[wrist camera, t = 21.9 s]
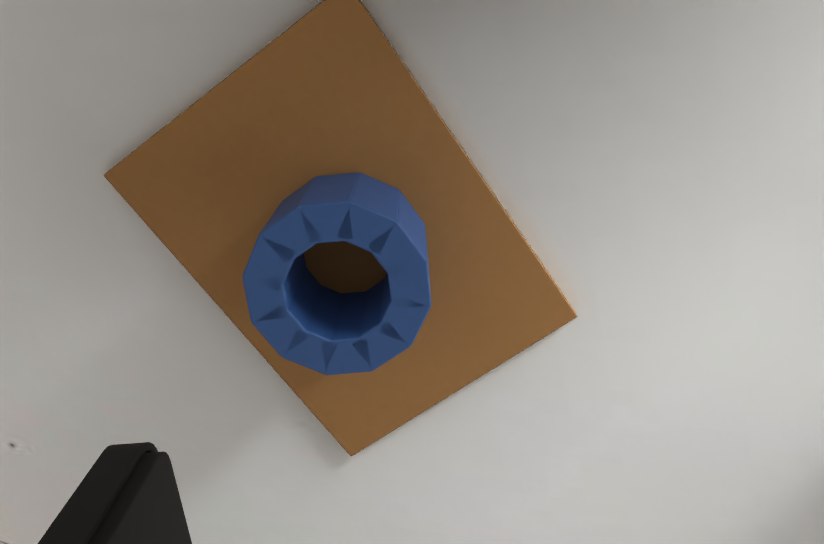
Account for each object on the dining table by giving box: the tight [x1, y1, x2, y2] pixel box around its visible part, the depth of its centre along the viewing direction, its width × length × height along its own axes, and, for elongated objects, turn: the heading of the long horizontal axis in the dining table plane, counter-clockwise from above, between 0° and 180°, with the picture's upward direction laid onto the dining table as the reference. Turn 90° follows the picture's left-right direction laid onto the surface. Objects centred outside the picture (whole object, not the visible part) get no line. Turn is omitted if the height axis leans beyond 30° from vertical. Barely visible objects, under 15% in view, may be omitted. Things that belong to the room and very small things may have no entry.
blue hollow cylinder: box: [242, 172, 431, 375], centre depth 26 cm, size 6×6×4 cm
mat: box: [104, 0, 577, 456], centre depth 28 cm, size 16×12×1 cm
